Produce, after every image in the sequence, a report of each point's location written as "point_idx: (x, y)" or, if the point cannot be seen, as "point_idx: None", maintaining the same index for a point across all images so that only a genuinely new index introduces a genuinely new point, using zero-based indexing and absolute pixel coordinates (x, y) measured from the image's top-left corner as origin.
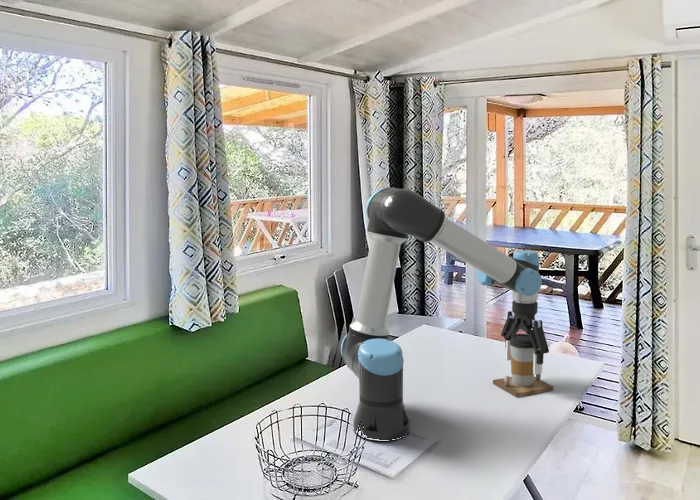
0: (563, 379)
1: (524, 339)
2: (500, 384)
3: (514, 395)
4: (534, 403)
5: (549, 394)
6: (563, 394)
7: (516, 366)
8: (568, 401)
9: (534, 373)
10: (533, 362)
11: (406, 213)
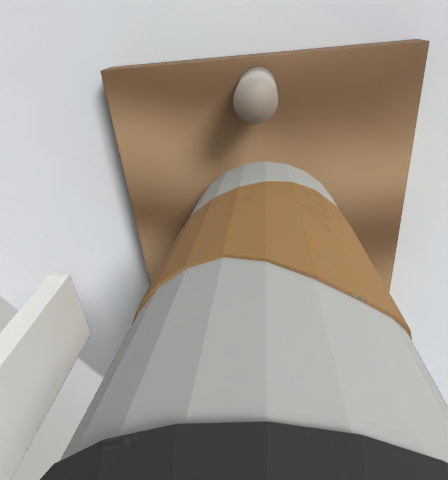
0: None
1: None
2: (309, 52)
3: (129, 66)
4: (4, 128)
5: (119, 276)
6: (107, 328)
7: (213, 225)
8: (24, 300)
9: (46, 279)
10: (7, 355)
11: None
